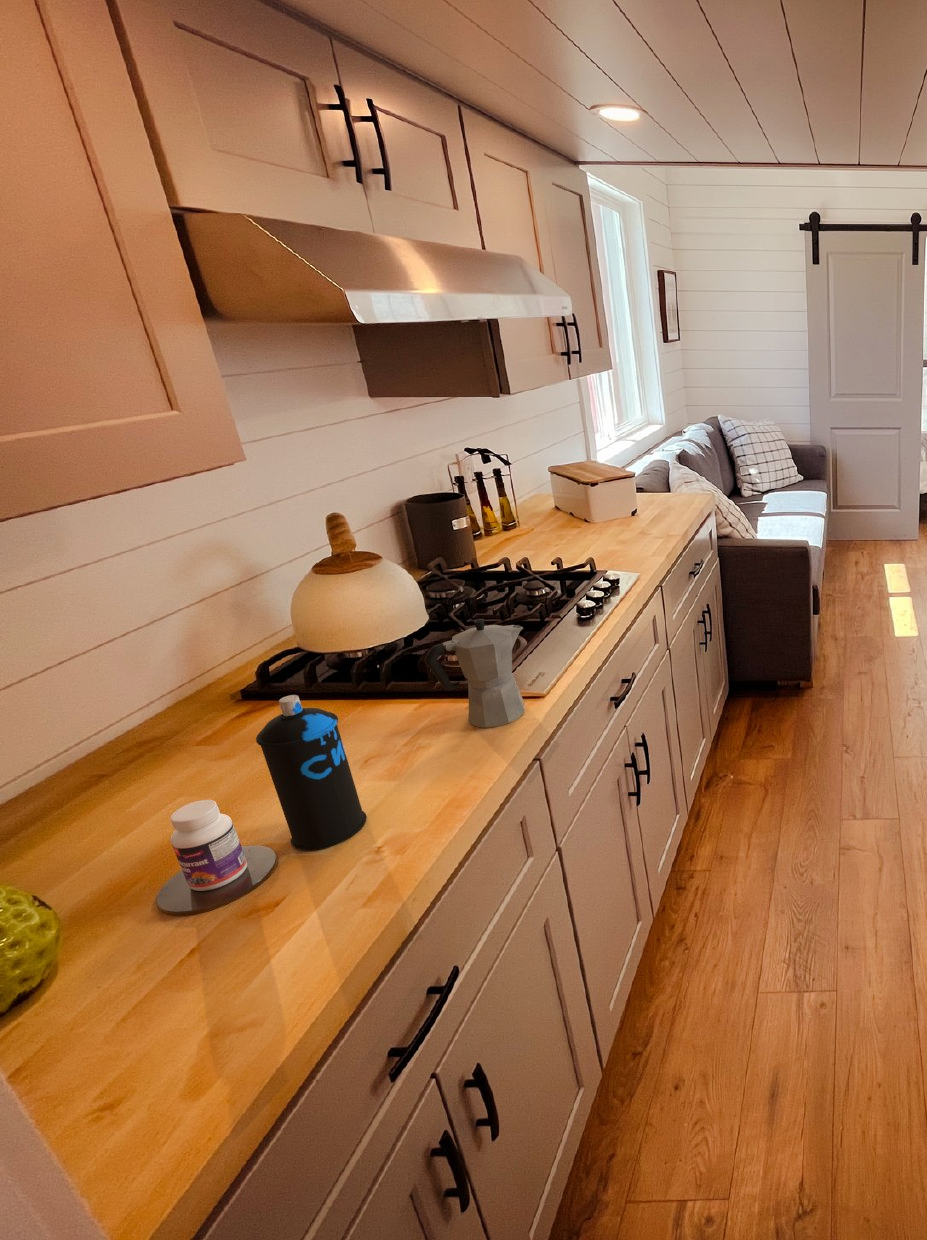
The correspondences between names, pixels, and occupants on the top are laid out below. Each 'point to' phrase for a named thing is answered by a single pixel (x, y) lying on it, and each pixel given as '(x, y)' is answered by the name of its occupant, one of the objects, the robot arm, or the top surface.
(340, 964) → the top surface
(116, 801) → the top surface
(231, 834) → the pill bottle
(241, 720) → the top surface
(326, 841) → the aerosol can
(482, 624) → the coffeepot
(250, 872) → the coaster
